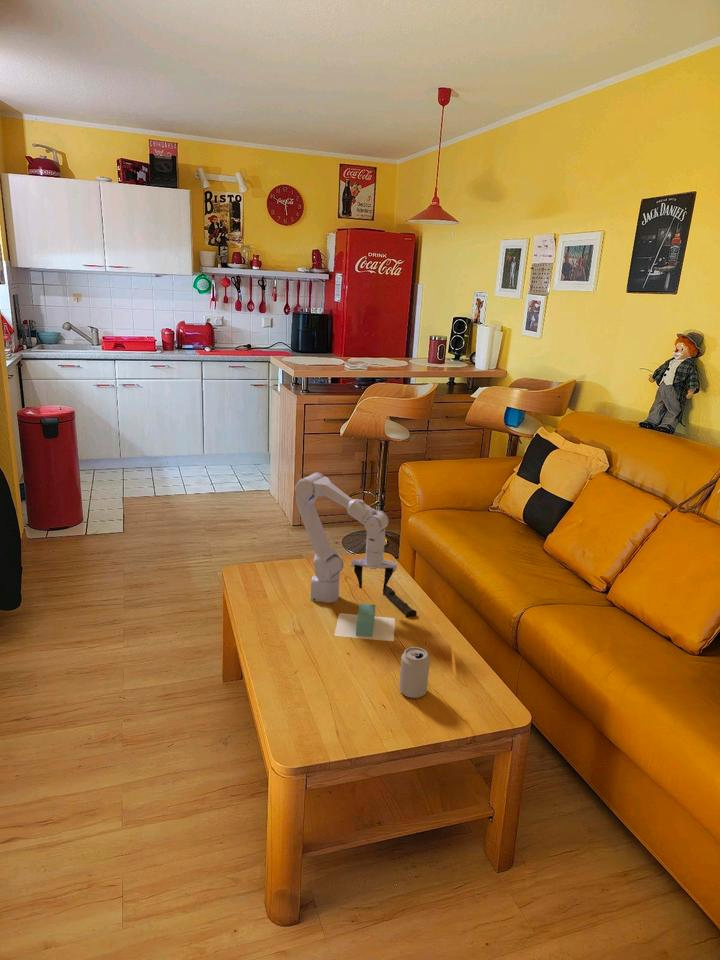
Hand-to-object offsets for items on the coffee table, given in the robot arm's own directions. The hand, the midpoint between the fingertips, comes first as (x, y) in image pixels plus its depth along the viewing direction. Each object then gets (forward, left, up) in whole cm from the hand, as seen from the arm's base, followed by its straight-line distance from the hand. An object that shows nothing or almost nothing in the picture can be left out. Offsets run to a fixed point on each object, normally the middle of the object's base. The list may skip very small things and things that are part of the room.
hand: (372, 588), depth 213 cm
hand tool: (+8, +6, -10) cm, 14 cm away
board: (-1, -11, -9) cm, 15 cm away
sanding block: (-1, -11, -8) cm, 14 cm away
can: (+14, -40, -10) cm, 43 cm away
